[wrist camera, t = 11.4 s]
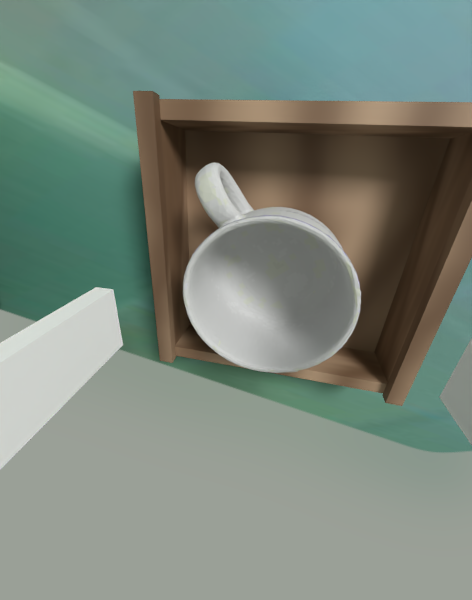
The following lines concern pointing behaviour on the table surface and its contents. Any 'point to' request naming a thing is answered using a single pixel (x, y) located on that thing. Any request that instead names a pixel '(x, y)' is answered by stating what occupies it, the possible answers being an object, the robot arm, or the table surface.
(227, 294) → the teacup
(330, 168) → the crate
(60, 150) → the table surface
